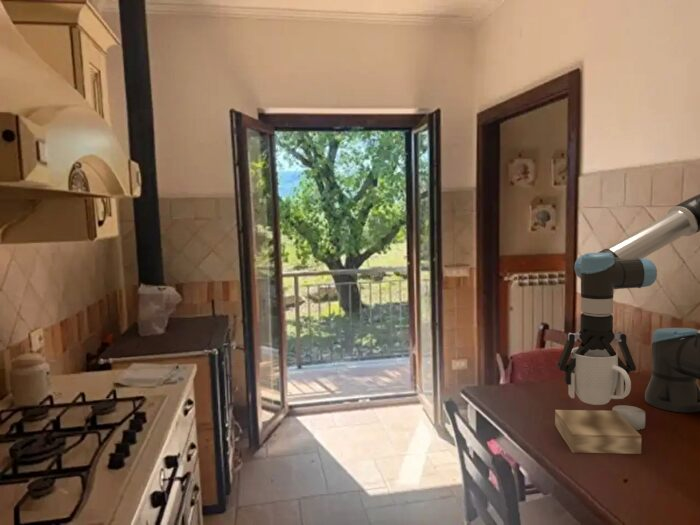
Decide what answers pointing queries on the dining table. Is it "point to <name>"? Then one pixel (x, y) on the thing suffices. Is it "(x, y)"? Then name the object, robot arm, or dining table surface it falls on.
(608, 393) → the mug
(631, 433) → the beech box
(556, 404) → the dining table surface
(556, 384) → the dining table surface
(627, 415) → the stoneware dish
